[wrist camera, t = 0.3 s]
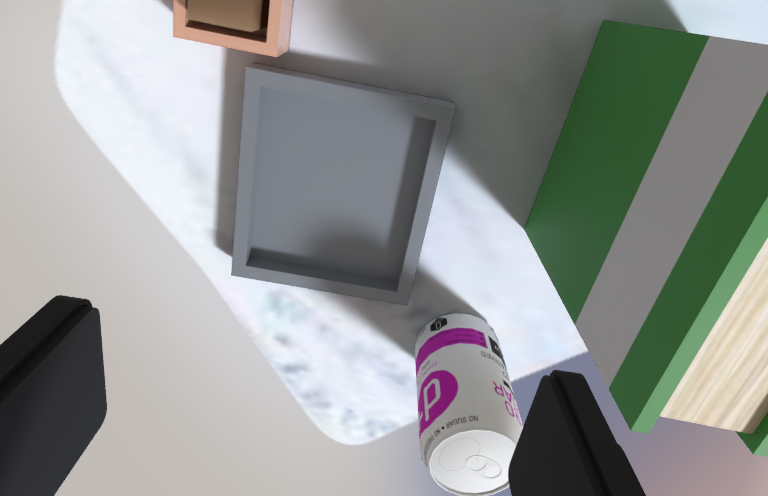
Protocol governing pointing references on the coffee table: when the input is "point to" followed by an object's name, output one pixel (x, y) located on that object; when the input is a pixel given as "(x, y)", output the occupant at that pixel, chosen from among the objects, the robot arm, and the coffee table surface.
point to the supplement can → (465, 406)
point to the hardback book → (666, 225)
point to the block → (231, 13)
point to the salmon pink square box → (259, 41)
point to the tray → (335, 182)
